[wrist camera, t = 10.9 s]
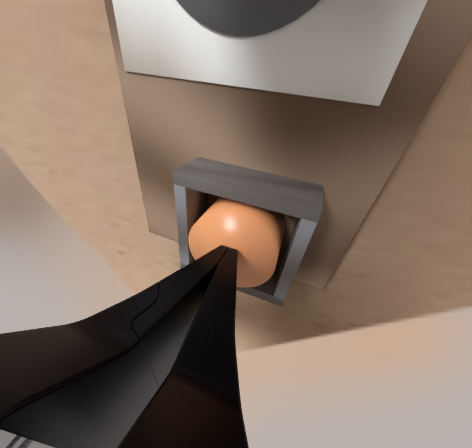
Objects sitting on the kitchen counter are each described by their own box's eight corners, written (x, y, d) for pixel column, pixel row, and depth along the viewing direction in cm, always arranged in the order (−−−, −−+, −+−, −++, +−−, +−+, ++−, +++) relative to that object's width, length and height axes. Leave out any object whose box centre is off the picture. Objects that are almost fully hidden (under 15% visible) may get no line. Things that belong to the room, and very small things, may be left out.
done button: (215, 178, 11) (186, 203, 9) (295, 198, 10) (286, 232, 8) (212, 239, 14) (189, 270, 11) (275, 259, 13) (265, 298, 10)
